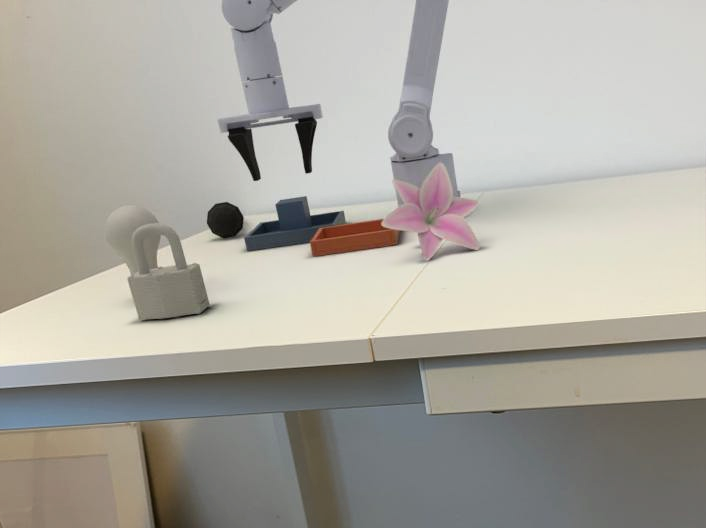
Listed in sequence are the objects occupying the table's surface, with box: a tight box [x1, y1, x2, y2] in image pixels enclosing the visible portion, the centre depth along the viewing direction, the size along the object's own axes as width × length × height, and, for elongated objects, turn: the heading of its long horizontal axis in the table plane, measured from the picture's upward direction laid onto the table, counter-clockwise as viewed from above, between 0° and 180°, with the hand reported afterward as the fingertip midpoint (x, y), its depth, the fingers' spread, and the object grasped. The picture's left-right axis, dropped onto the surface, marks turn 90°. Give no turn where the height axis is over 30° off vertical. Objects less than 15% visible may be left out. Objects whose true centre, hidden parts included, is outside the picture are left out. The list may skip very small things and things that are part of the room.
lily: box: [381, 163, 481, 262], centre depth 98 cm, size 12×12×10 cm
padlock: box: [127, 222, 211, 321], centre depth 86 cm, size 7×4×10 cm, turn 87°
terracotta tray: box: [309, 218, 401, 257], centre depth 110 cm, size 11×9×2 cm
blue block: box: [274, 195, 313, 232], centre depth 120 cm, size 4×4×5 cm
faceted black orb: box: [206, 201, 245, 239], centre depth 134 cm, size 6×6×20 cm
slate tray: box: [243, 210, 347, 252], centre depth 120 cm, size 13×11×2 cm
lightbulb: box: [104, 204, 162, 275], centre depth 96 cm, size 6×6×11 cm
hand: (283, 176), depth 118 cm, fingers open, 7 cm apart
